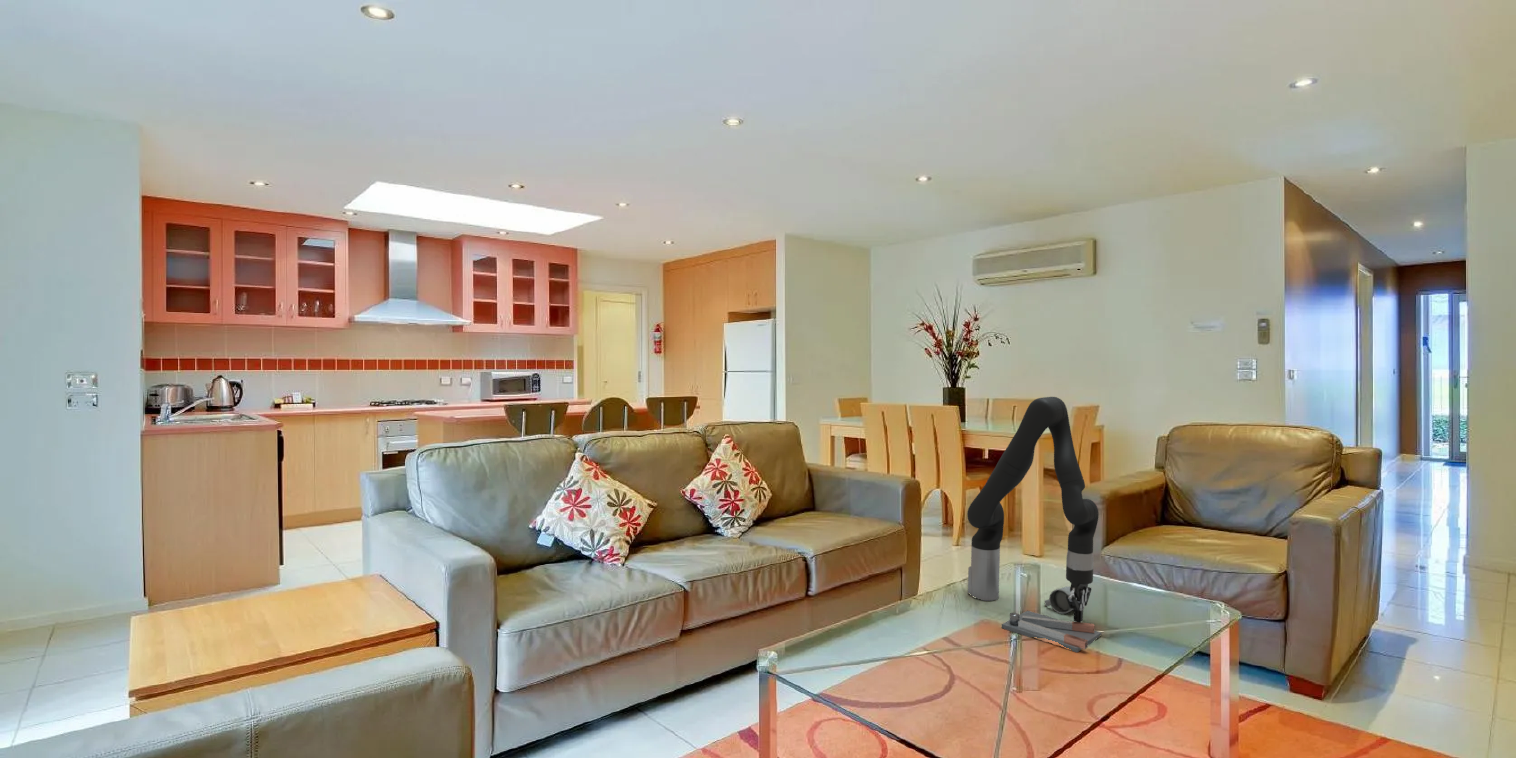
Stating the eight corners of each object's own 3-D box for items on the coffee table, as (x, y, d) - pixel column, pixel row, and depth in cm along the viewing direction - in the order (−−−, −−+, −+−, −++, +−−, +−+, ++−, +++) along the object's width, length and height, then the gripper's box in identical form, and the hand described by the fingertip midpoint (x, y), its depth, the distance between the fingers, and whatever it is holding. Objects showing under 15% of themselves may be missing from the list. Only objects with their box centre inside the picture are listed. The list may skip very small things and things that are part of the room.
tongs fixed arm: (1006, 624, 224) (1007, 614, 224) (1012, 621, 227) (1012, 611, 227) (1084, 649, 207) (1085, 638, 207) (1090, 645, 209) (1090, 635, 209)
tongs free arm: (1022, 624, 224) (1022, 617, 224) (1022, 621, 226) (1022, 615, 226) (1094, 633, 218) (1094, 626, 217) (1093, 630, 219) (1093, 623, 219)
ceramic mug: (1083, 610, 239) (1083, 586, 238) (1071, 616, 233) (1071, 592, 233) (1051, 601, 247) (1052, 579, 246) (1039, 607, 241) (1039, 584, 241)
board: (1001, 628, 225) (1001, 624, 225) (1027, 614, 235) (1027, 610, 235) (1077, 652, 208) (1077, 648, 208) (1101, 636, 219) (1101, 632, 219)
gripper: (1076, 557, 231) (1075, 612, 232) (1057, 567, 222) (1055, 623, 223) (1101, 563, 225) (1099, 619, 227) (1082, 573, 216) (1080, 631, 218)
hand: (1077, 621), depth 225 cm, fingers closed
